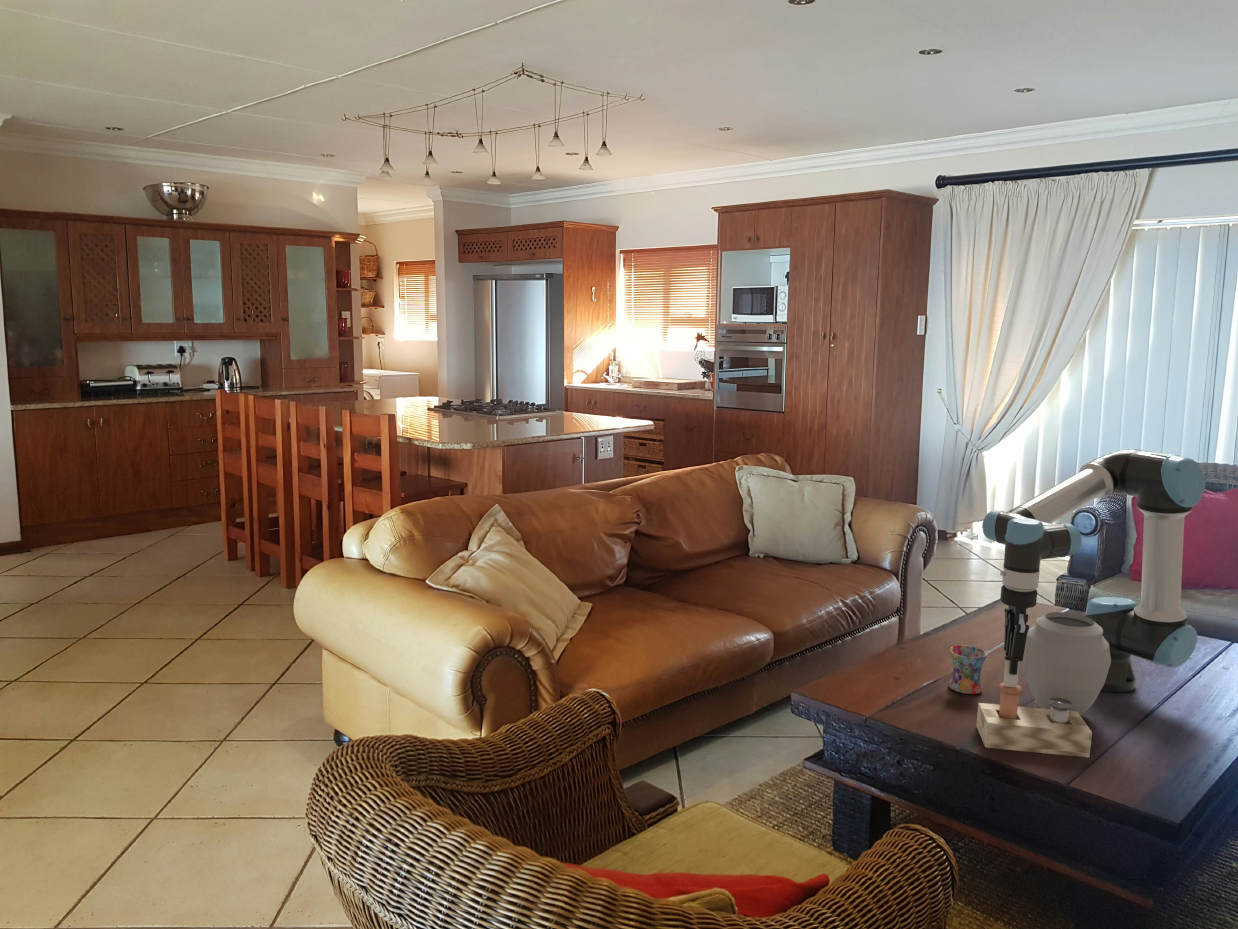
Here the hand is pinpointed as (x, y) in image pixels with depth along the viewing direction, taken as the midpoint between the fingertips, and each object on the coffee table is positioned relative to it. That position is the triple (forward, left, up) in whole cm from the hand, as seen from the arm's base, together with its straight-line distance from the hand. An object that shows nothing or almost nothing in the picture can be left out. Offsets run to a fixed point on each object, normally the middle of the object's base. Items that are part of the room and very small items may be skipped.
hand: (1010, 685), depth 210 cm
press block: (-6, 0, -13) cm, 14 cm away
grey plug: (-11, 0, -12) cm, 16 cm away
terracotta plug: (0, 0, -9) cm, 9 cm away
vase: (-17, -18, -13) cm, 28 cm away
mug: (+3, -29, -13) cm, 32 cm away
